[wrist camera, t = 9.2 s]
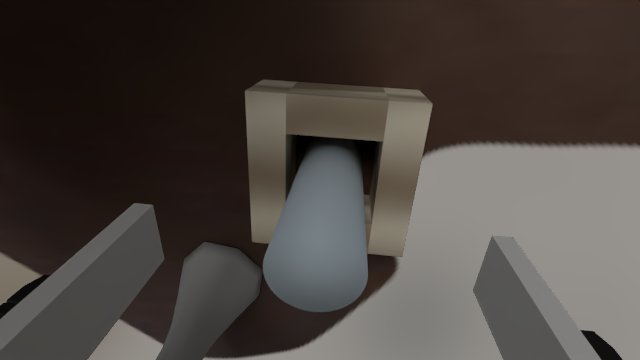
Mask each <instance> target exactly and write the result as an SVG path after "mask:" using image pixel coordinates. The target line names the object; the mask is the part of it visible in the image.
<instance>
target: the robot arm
mask: <svg viewBox="0 0 640 360" xmlns="http://www.w3.org/2000/svg"><path fill="white" fill-rule="evenodd" d="M163 260H164V255H163V250H162V245H161V240H160V236H159V231H158V226H157V222H156V217H155V212H154V208H153V205H149V204H138V203H134V204H133V205H132V206H131V207H129V208H128V209H127V210H126V211H125V212H124V213H122V214H121V215H120V216H119V217H118V218H117V219H115V220H114V221H113V222H112V223H111V224H110V225H109V226H107V227H106V228H105V229H104V230H103V231H102V232H100V233H99V234H98V235H97V236H96V237H95V238H93V239H92V240H91V241H90V242H89V243H88V244H87V245H85V246H84V247H83V248H82V249H81V250H80V251H78V252H77V253H76V254H75V255H74V256H73V257H71V258H70V259H69V260H68V261H67V262H66V263H65V264H63V265H62V266H61V267H60V268H59V269H58V270H56V271H55V272H54V273H53V274H52V275H51V276H50V275H43V276H42V277H40V278H38V279H36V280H34V281H33V282H31V283H29V284H27V285H25V286H24V287H22V288H21V289H20V290H19V291H17V292H16V293H15V294H14V295H13V296H11V297H10V298H9V299H8V300H7V302H6V303H3V304H2V305H1V306H0V360H87V359H88V358H89V357H90V355H91V354H92V353H93V351H94V350H95V349H96V348H97V346H98V345H99V344H100V342H101V341H102V340H103V338H104V337H105V336H106V335H107V333H108V332H109V331H110V329H111V328H112V327H113V325H114V324H115V323H116V322H117V320H118V319H119V318H120V316H121V315H122V314H123V312H124V311H125V310H126V309H127V307H128V306H129V305H130V303H131V302H132V301H133V299H134V298H135V297H136V296H137V294H138V293H139V292H140V290H141V289H142V288H143V286H144V285H145V284H146V283H147V281H148V280H149V279H150V277H151V276H152V275H153V273H154V272H155V271H156V270H157V268H158V267H159V266H160V264H161V263H162V262H163ZM473 291H474V293H475V296H476V298H477V300H478V302H479V305H480V307H481V309H482V312H483V314H484V316H485V319H486V321H487V323H488V325H489V328H490V330H491V332H492V335H493V337H494V339H495V341H496V344H497V346H498V348H499V351H500V353H501V355H502V357H503V359H504V360H622V358H621V357H620V356H619V355H618V353H617V352H616V351H615V349H614V348H613V347H611V346H610V345H609V344H608V343H607V342H605V341H604V340H603V339H602V338H601V337H599V336H598V335H597V334H596V333H595V332H593V331H584V330H580V329H579V328H578V327H577V325H576V324H575V322H574V321H573V320H572V318H571V317H570V316H569V314H568V313H567V311H566V310H565V309H564V307H563V306H562V304H561V303H560V302H559V300H558V299H557V298H556V296H555V295H554V293H553V292H552V291H551V289H550V288H549V286H548V285H547V284H546V282H545V281H544V279H543V278H542V277H541V275H540V274H539V273H538V271H537V270H536V268H535V267H534V266H533V264H532V263H531V262H530V260H529V259H528V257H527V256H526V255H525V253H524V252H523V250H522V249H521V248H520V246H519V245H518V243H517V242H516V241H515V239H514V238H513V237H501V236H492V237H491V241H490V243H489V246H488V249H487V252H486V255H485V257H484V261H483V263H482V266H481V269H480V272H479V274H478V277H477V280H476V283H475V286H474V289H473Z"/></svg>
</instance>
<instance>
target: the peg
mask: <svg viewBox="0 0 640 360" xmlns="http://www.w3.org/2000/svg"><path fill="white" fill-rule="evenodd" d="M263 273H264V277H265V280H266V282H267V284H268V286H269V288H270V289H271V290H272V291H273V293H274V294H275V295H276V296H277V297H279V298H280V299H281V300H282V301H284V302H286V303H287V304H289V305H291V306H293V307H296V308H298V309H302V310H305V311H311V312H329V311H334V310H338V309H341V308H343V307H345V306H347V305H349V304H351V303H352V302H354V301H355V300H356V299H357V298H358V297H359V296H360V295H361V293H362V292H363V290H364V288H365V286H366V283H367V279H368V265H367V247H366V229H365V211H364V193H363V175H362V157H361V151H360V148H359V146H358V144H357V143H356V142H355V140H354V139H344V138H332V137H319V136H316V137H314V138H313V139H312V140H311V142H310V143H309V145H308V146H307V149H306V151H305V154H304V156H303V159H302V162H301V164H300V167H299V169H298V172H297V174H296V177H295V180H294V182H293V185H292V187H291V190H290V192H289V195H288V197H287V200H286V203H285V205H284V208H283V210H282V213H281V215H280V218H279V220H278V223H277V226H276V228H275V231H274V233H273V236H272V238H271V241H270V243H269V246H268V249H267V251H266V254H265V256H264V260H263Z"/></svg>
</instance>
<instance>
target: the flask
mask: <svg viewBox="0 0 640 360" xmlns="http://www.w3.org/2000/svg"><path fill="white" fill-rule="evenodd" d="M262 274H263V270H262V269H261V268H260V267H259V266H257V265H256V264H255V263H254V262H253V261H252V260H251V259H249V258H248V257H247V256H246V255H245V254H244V253H243V252H241V251H240V250H239V249H237V248H232V247H227V246H223V245H218V244H213V243H209V242H204V243H202V244H201V245H200V246H199V247H198V248H196V249H195V250H194V251H193V252H192V253H191V254H189V255H188V256H187V257H186V258H185V259H184V263H183V268H182V274H181V280H180V286H179V292H178V297H177V302H176V306H175V311H174V316H173V321H172V325H171V327H170V330H169V333H168V335H167V338H166V340H165V343H164V346H163V348H162V350H161V352H160V353H159V355H158V357H157V359H156V360H202V359H203V358H204V356H205V355H206V354H207V352H208V351H209V349H210V348H211V346H212V345H213V343H214V342H215V341H216V340H217V339H218V338H219V337H220V336H221V334H222V333H223V332H224V331H225V330H226V329H227V328H228V327H229V326H230V325H231V324H232V322H233V321H234V320H235V319H236V318H237V317H238V316H239V315H240V314H241V313H242V312H243V311H244V310H245V309H246V308H247V307H248V306H249V305H250V304H251V303H252V302H253V301H254V300H255V299H256V298H257V297H258V296H259V294H260V287H261V281H262Z"/></svg>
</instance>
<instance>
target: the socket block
mask: <svg viewBox="0 0 640 360" xmlns="http://www.w3.org/2000/svg"><path fill="white" fill-rule="evenodd" d="M245 104H246V125H247V146H248V167H249V188H250V209H251V230H252V242H257V243H267V244H269V243H270V241H271V238H272V236H273V233H274V231H275V228H276V226H277V223H278V220H279V218H280V215H281V213H282V210H283V208H284V205H285V203H286V200H287V197H288V195H289V192H290V190H291V187H292V185H293V182H294V180H295V177H296V135H306V136H319V137H332V138H344V139H357V140H370V141H376V146H375V154H374V162H373V169H372V177H371V185H370V192H369V195H364V211H365V229H366V247H367V254H377V255H387V256H397V257H402V255H403V250H404V245H405V240H406V235H407V230H408V225H409V220H410V215H411V210H412V205H413V200H414V195H415V190H416V185H417V180H418V175H419V170H420V165H421V160H422V155H423V150H424V145H425V140H426V135H427V130H428V125H429V120H430V115H431V110H432V105H433V104H432V103H431V102H430V101H429V100H428V99H427V98H426V97H425V96H424V95H423V94H422V93H421V92H420V91H419V90H410V89H396V88H381V87H366V86H352V85H337V84H322V83H308V82H293V81H278V80H262V81H260V82H258V83H257V84H255V85H253V86H252V87H250V88H249V89H247V90H245Z"/></svg>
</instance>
